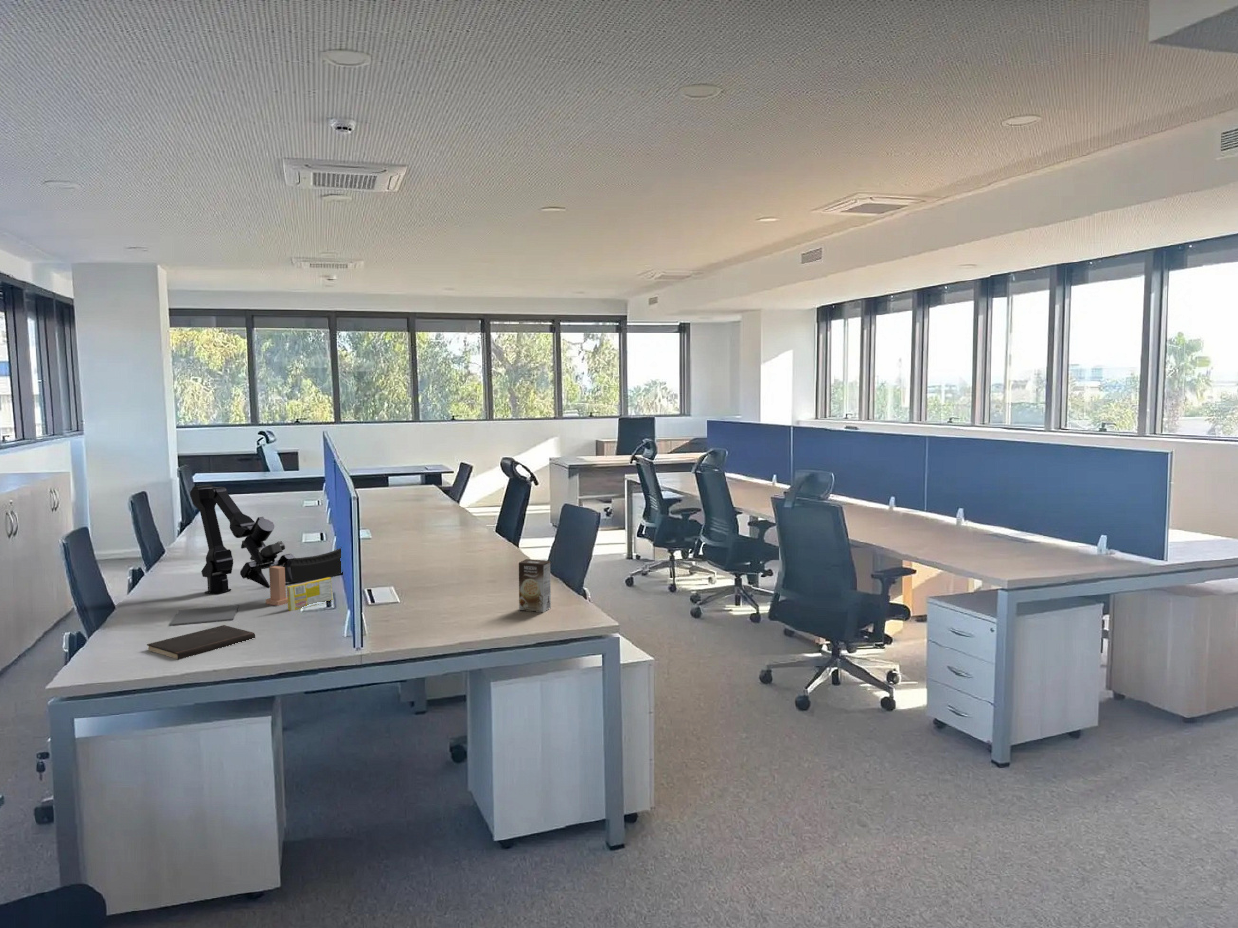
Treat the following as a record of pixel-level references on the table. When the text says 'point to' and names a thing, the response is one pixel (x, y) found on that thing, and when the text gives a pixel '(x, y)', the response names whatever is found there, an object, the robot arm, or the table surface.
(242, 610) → the table surface
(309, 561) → the magazine
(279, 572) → the pink block bookend
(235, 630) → the hardcover book
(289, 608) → the candy box
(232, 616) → the mat
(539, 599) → the coffee box
